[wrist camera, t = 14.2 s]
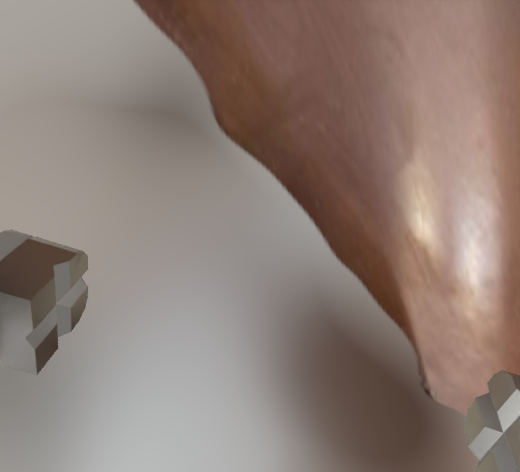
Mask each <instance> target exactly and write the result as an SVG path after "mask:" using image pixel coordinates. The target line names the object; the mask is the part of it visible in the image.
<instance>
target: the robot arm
mask: <svg viewBox="0 0 520 472" xmlns="http://www.w3.org/2000/svg"><path fill="white" fill-rule="evenodd" d="M87 270H88V256H87V255H86V254H85V253H84V252H83V251H81V250H77V249H74V248H71V247H68V246H64V245H61V244H58V243H55V242H51V241H48V240H45V239H42V238H39V237H33V236H31V235H27V234H24V233H21V232H18V231H14V230H6V231H2V232H1V233H0V365H1V366H5V367H8V368H12V369H16V370H20V371H24V372H27V373H32V374H35V375H37V374H38V373H39V372H40V371H41V369H42V368H43V367H44V366H45V364H46V363H47V362H48V360H49V359H50V358H51V357H52V355H53V354H54V352H55V351H56V350H57V349H58V337H59V336H62V335H64V334H67V333H69V332H71V331H72V330H73V328H74V327H75V325H76V324H77V323H78V322H79V320H80V318H81V316H82V313H83V311H84V309H85V307H86V301H87V298H88V286H87V285H86V283H85V282H84V280H83V279H82V275H83V274H84V273H85V272H86V271H87ZM487 384H488V389H489V393H487V394H484V395H482V396H479V397H477V398H475V400H474V401H473V403H472V404H471V406H470V407H469V408H468V411H467V416H466V420H465V435H466V439H467V443H468V447H469V448H470V449H471V451H472V452H473V453H474V454H475V455H476V457H477V458H478V459H479V460H480V461H479V463H478V464H477V466H476V468H475V472H520V375H517V374H513V373H510V372H506V371H502V370H501V371H500V372H498V373H496V374H494V375H493V376H492V378H491V379H490V380H489V381H488V383H487Z"/></svg>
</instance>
